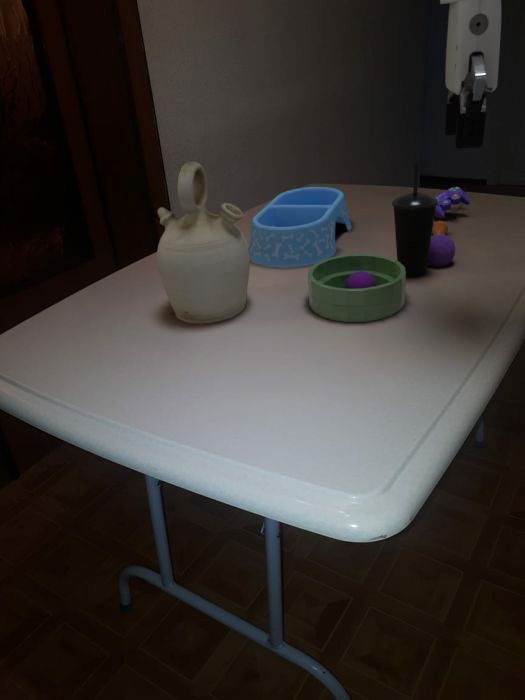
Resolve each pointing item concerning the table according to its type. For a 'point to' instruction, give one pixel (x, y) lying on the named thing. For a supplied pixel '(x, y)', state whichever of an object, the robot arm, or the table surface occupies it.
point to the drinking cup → (414, 228)
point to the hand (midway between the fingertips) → (462, 140)
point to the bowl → (356, 303)
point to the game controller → (450, 201)
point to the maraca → (440, 246)
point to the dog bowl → (298, 227)
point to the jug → (202, 254)
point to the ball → (360, 280)
